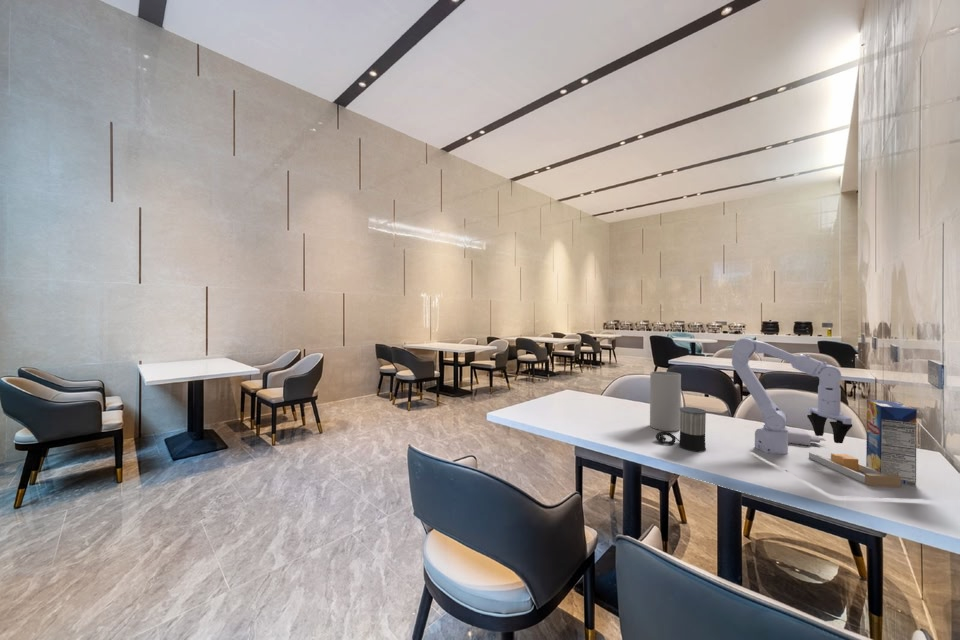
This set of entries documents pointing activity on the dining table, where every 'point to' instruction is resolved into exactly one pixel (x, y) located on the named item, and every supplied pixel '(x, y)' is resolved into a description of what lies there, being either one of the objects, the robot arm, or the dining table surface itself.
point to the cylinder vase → (665, 400)
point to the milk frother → (689, 430)
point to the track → (860, 473)
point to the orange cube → (845, 461)
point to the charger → (801, 437)
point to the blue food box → (892, 439)
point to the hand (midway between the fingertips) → (828, 439)
